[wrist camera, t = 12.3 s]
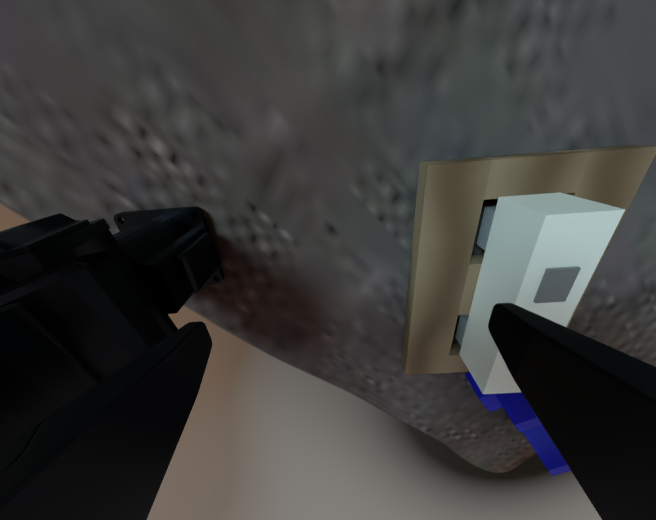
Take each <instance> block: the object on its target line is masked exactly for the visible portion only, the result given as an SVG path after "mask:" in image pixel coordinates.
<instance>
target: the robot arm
mask: <svg viewBox="0 0 656 520" xmlns="http://www.w3.org/2000/svg"><path fill="white" fill-rule="evenodd" d="M193 211H194V212H196V213H197V214H198V216H195V215H194V214H193ZM121 217H122V218H123V219H124V220H125V221H123V220H122V218H121ZM114 221H115V223H116V225H117V227H118V229H119V231H120V232H118V233H116V234H114V235H112V234H111V232H110V231H109V228H110V227H109V225H108V224H107V222H106V221H105V219H104V218H103V219H99V220H95V221H91V222H89V221H88V220H82V221H79V220H77V221H76V220H74V219H72V218H70V217H67V216H65V215H63V214H61V213H60V214H56V215H52V216H49V217H45V218H42V219H39V220H35V221H32V222H29V223H26V224H22V225H19V226H16V227H13V228H10V229H6V230H4V231H1V232H0V520H146V519H147V517H148V514H149V512H150V510H151V507H152V505H153V502H154V500H155V497H156V495H157V493H158V490H159V488H160V485H161V483H162V480H163V478H164V475H165V473H166V471H167V468H168V466H169V463H170V461H171V458H172V456H173V453H174V451H175V449H176V446H177V444H178V441H179V439H180V437H181V434H182V432H183V429H184V427H185V424H186V422H187V419H188V417H189V414H190V412H191V410H192V407H193V405H194V402H195V400H196V397H197V394H198V391H199V388H200V384H201V382H202V378H203V375H204V372H205V368H206V365H207V361H208V358H209V355H210V352H211V348H212V340H211V337H210V335H209V333H208V330H207V328H206V325H205V324H204V323H203V322H190V323H187V324H186V325H184V326H183V327H182V328H180V329H177V327H176V326H175V325H174V323H173V322H172V320H171V319H170V317H169V316H168V314H171V313H177V312H178V311H179V310H180V308H181V307H182V306H183V305H184V304H185V303H186V301H187V300H188V299H189V298H190V297H191V295H192V294H193V293H197V292H198V291H199V290H200V289H201V288H202V286H203V285H205V284H218V283H221V282H222V281H223V279H224V275H223V271H222V268H221V265H220V264H221V260H220V256H219V253H218V250H217V247H216V244H215V241H214V238H213V235H212V234H211V233H210V231H209V228H208V225H207V222H206V219H205V216H204V213H203V211H202V210H201V209H200V208H199V207H182V208H169V209H156V210H143V211H130V212H121V213H118V214H116V215H115V216H114ZM215 276H217V277H219V279H218V278H216V277H215ZM488 329H489V332H490V334H491V336H492V338H493V340H494V342H495V344H496V346H497V348H498V350H499V352H500V354H501V356H502V358H503V360H504V362H505V364H506V366H507V368H508V370H509V372H510V373H511V375H512V377H513V379H514V381H515V382H516V384H517V386H518V387H519V389H520V391H521V392H522V394H523V395H524V397H525V398H526V400H527V402H528V403H529V405H530V406H531V408H532V410H533V411H534V413H535V414H536V416H537V417H538V419H539V421H540V422H541V424H542V425H543V427H544V429H545V430H546V432H547V433H548V435H549V436H550V438H551V440H552V441H553V443H554V444H555V446H556V447H557V449H558V451H559V452H560V454H561V455H562V457H563V459H564V460H565V462H566V463H567V465H568V466H569V468H570V470H571V471H572V473H573V474H574V476H575V478H576V479H577V481H578V482H579V484H580V485H581V487H582V489H583V490H584V492H585V493H586V495H587V496H588V498H589V500H590V501H591V503H592V504H593V506H594V508H595V509H596V511H597V512H598V514H599V515H600V517H601V518H602V520H656V367H654V366H652V365H650V364H648V363H645V362H643V361H641V360H639V359H636V358H634V357H632V356H630V355H627V354H625V353H623V352H621V351H618V350H616V349H614V348H612V347H609V346H607V345H605V344H603V343H600V342H598V341H596V340H594V339H591V338H589V337H587V336H585V335H582V334H580V333H578V332H576V331H574V330H571V329H569V328H567V327H565V326H562V325H560V324H558V323H556V322H553V321H551V320H549V319H547V318H544V317H542V316H540V315H538V314H535V313H533V312H531V311H529V310H526V309H524V308H522V307H520V306H517V305H515V304H513V303H497V304H495V305H494V307H493V309H492V313H491V316H490V319H489V323H488Z"/></svg>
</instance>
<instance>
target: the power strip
mask: <svg viewBox="0 0 656 520" xmlns="http://www.w3.org/2000/svg"><path fill="white" fill-rule="evenodd" d="M624 211H625V209H622V208H618V207H614V206H610V205H606V204H602V203H599V202H595V201H591V200H587V199H583V198H579V197H576V196H572V195H568V194H564V193H560V192H559V193H546V194H533V195H520V196H506V197H498V201H497V205H496V206H490V207H485V209H484V213H483V217H482V222H481V226H480V231H479V235H478V239H477V245H478V246H479V247H481V248H482V249H483V250H485V253H484V257H483V261H482V265H481V269H480V273H479V277H478V281H477V285H476V289H475V293H474V297H473V301H472V305H471V309H470V313H469V315H460V318H459V323H458V327H457V331H456V336H455V338H456V339H457V341H458V343H459V344H460V346H461V349H460V353H459V355H460V356H461V358H462V360H463V361H464V363H465V365H466V367H467V368H468V370H469V372H470V373H471V375H472V377H473V378H474V380H475V382H476V383H477V385H478V387H479V388H480V390H481V392H482V394H499V393H519V392H521V391H520V389H519V387H518V386H517V384H516V382H515V381H514V379H513V377H512V375H511V373H510V372H509V370H508V368H507V366H506V364H505V362H504V360H503V358H502V356H501V354H500V352H499V350H498V348H497V346H496V344H495V342H494V340H493V338H492V336H491V334H490V332H489V329H488V323H489V319H490V316H491V313H492V309H493V307H494V305H495V304H497V303H513V304H515V305H517V306H520V307H522V308H524V309H526V310H529V311H531V312H533V313H535V314H538V315H540V316H542V317H544V318H547V319H549V320H551V321H553V322H556V323H558V324H560V325H562V326H565V327H566V326H567V324H568V322H569V320H570V318H571V316H572V314H573V313H574V311H575V309H576V307H577V305H578V303H579V301H580V299H581V297H582V295H583V293H584V291H585V289H586V287H587V285H588V283H589V281H590V279H591V277H592V275H593V273H594V271H595V269H596V267H597V265H598V263H599V261H600V259H601V257H602V255H603V253H604V251H605V249H606V247H607V245H608V243H609V241H610V239H611V237H612V235H613V233H614V231H615V229H616V227H617V225H618V223H619V221H620V219H621V217H622V215H623V213H624Z"/></svg>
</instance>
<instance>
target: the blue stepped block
mask: <svg viewBox="0 0 656 520" xmlns="http://www.w3.org/2000/svg"><path fill="white" fill-rule="evenodd" d="M465 375H466V377H467V378H468V380H469V382H470V384H471V385H472V387H473V389H474V391H475V392H476V394H477V396H478V398H479V399H480V400H481V402H482V403H483V404H484V406H485V407H486V408H487V409H488V411H490V410H491V411H494V410H497V409H500V408H502V407H503V408H504V410H505V411H506V413H507V415H508V416H509V418H510V419H511V421H512V422H513V424H514V425H515V427H516V428H517V430H518V431H519V432H523V433H524V435H525V436H526V438H527V439H528V441H529V442H530V444H531V445H532V447H533V448H534V450H535V451H536V453H537V454H538V456H539V457H540V459H541V460H542V462H543V463H544V465H545V466H546V468H547V470H548V471H549V472H550V474H551V475H552V476H553V475H557V474H560V473H564V472H568V471H571V470H570V468H569V466H568V465H567V463H566V462H565V460H564V459H563V457H562V455H561V454H560V452H559V451H558V449H557V447H556V446H555V444H554V443H553V441H552V440H551V438H550V436H549V435H548V433H547V432H546V430H545V429H544V427H543V425H542V424H541V422H540V421H539V419H538V417H537V416H536V414H535V413H534V411H533V410H532V408H531V406H530V405H529V403H528V402H527V400H526V398H525V397H524V395H523V394H522V392H519V393H499V394H482V392H481V390H480V388H479V387H478V385H477V383H476V382H475V380H474V378H473V377H472V375H471V373H470V372H469V373H467V374H465Z"/></svg>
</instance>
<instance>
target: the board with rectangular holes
mask: <svg viewBox="0 0 656 520" xmlns="http://www.w3.org/2000/svg"><path fill="white" fill-rule="evenodd" d="M655 154H656V146H642V145H627V146H615V147H602V148H590V149H578V150H566V151H553V152H541V153H529V154H517V155H504V156H492V157H480V158H468V159H456V160H443V161H431V162H420V165H419V176H418V187H417V198H416V209H415V219H414V230H413V241H412V252H411V263H410V273H409V284H408V295H407V306H406V316H405V327H404V338H403V349H402V360H401V363H402V367H403V370H404V373H405V375H416V374H435V373H454V372H469V370H468V368H467V367H466V365H465V363H464V361H463V360H462V358H461V356H460V355H459V353H460V349H461V346H460V344H459V343H452V340H453V336H454V331H455V327H456V322H457V318H458V315H469V313H470V309H471V305H472V301H473V297H474V293H475V289H476V285H477V281H478V277H479V273H480V269H481V265H482V261H483V257H484V254H479V255H472V250H473V246H474V241H475V237H476V232H477V228H478V223H479V219H480V214H481V210H482V205H483V200H487V199H498V197H506V196H520V195H533V194H546V193H559V192H560V193H564V194H568V195H572V196H576V197H579V198H583V199H587V200H591V201H595V202H599V203H602V204H606V205H610V206H614V207H618V208H622V209H625V211H624V213H623V215H622V217H621V219H620V221H619V223H618V225H617V227H616V229H615V231H614V233H613V235H612V237H611V239H610V241H609V243H608V245H607V247H606V249H605V251H604V253H603V255H602V257H601V259H600V261H599V263H598V265H597V267H596V269H595V271H594V273H593V275H592V277H591V279H590V281H589V283H588V285H587V287H586V289H585V291H584V293H583V295H582V297H581V299H580V301H579V303H578V305H577V307H576V309H575V311H574V313H573V314H572V316H571V318H570V320H569V322H568V324H567V326H566V327H567V328H568V326H569V324H570V322H571V320H572V318H573V316H574V314H575V312H576V310H577V308H578V306H579V304H580V302H581V300H582V298H583V296H584V294H585V292H586V290H587V288H588V286H589V284H590V282H591V280H592V278H593V276H594V274H595V272H596V271H597V269H598V267H599V265H600V263H601V261H602V259H603V257H604V255H605V253H606V251H607V249H608V247H609V245H610V243H611V241H612V239H613V237H614V235H615V233H616V231H617V229H618V227H619V225H620V223H621V221H622V219H623V217H624V215H625V213H626V211H627V209H628V207H629V206H630V204H631V202H632V200H633V198H634V196H635V194H636V192H637V190H638V188H639V186H640V184H641V182H642V180H643V178H644V176H645V174H646V172H647V170H648V168H649V166H650V164H651V162H652V160H653V158H654V156H655Z"/></svg>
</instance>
